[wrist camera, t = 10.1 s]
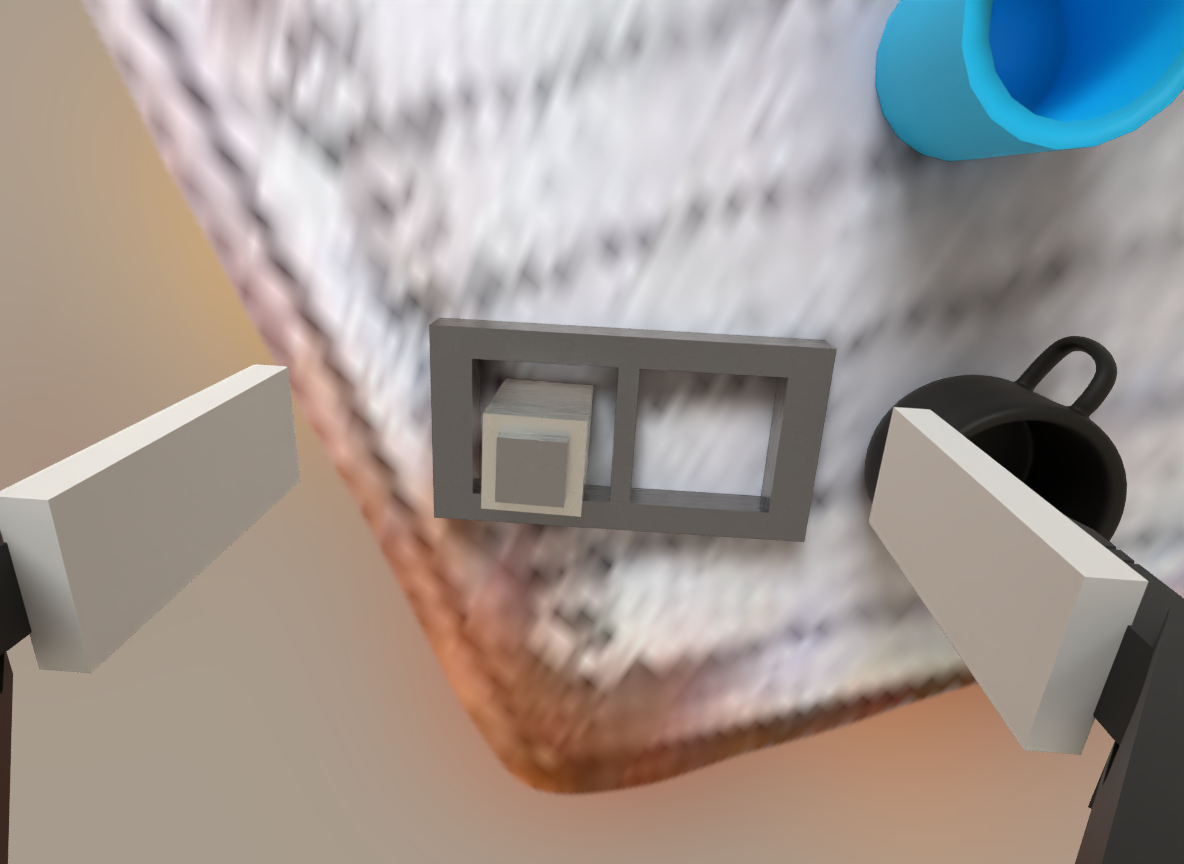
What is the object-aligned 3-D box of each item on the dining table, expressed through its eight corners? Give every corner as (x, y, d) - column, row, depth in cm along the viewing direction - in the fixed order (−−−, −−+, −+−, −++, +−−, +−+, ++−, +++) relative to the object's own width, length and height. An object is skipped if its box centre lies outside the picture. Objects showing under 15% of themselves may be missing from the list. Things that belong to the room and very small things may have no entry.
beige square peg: (505, 378, 35) (479, 418, 29) (593, 385, 35) (586, 427, 29) (503, 460, 37) (477, 516, 30) (587, 467, 37) (579, 524, 30)
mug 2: (955, 557, 37) (1028, 636, 31) (816, 479, 36) (861, 543, 29) (1114, 370, 34) (1237, 413, 27) (966, 277, 33) (1055, 297, 26)
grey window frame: (440, 317, 34) (429, 324, 32) (824, 340, 34) (836, 349, 32) (444, 501, 38) (434, 517, 36) (794, 524, 37) (804, 541, 35)
